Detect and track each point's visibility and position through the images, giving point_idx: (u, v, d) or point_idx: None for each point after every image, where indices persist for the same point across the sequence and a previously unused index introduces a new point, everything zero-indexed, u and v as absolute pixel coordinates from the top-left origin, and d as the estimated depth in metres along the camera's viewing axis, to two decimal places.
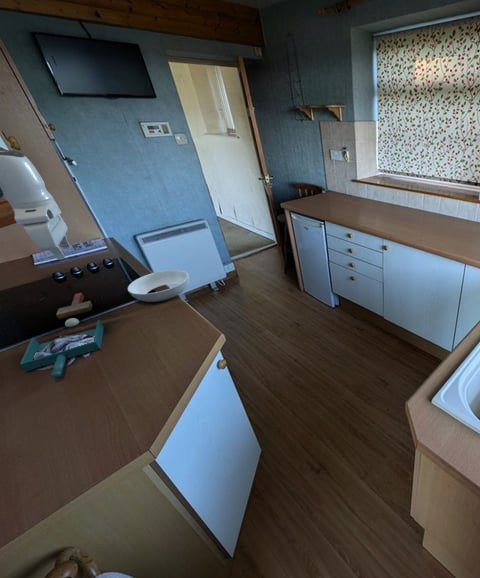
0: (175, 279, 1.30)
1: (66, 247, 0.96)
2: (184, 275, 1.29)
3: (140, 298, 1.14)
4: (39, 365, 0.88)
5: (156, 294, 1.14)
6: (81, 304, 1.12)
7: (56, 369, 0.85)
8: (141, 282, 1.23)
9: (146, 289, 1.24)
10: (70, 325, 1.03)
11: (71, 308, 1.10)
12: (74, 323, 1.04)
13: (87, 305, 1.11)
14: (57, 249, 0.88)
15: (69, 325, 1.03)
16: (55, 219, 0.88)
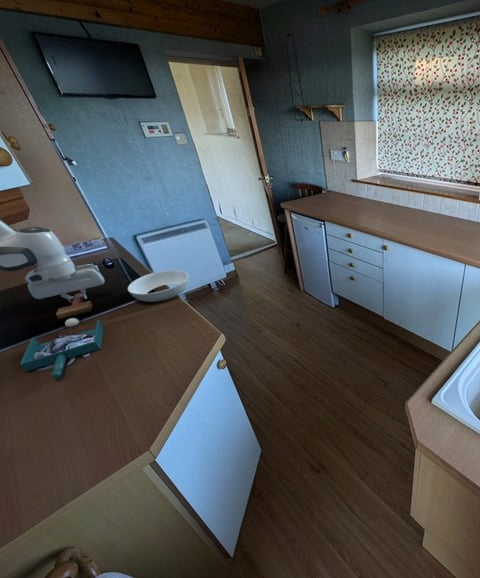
0: (175, 279, 1.30)
1: None
2: (184, 275, 1.29)
3: (140, 298, 1.14)
4: (39, 365, 0.88)
5: (156, 294, 1.14)
6: (81, 304, 1.12)
7: (56, 369, 0.85)
8: (141, 282, 1.23)
9: (146, 289, 1.24)
10: (70, 325, 1.03)
11: (71, 308, 1.10)
12: (74, 323, 1.04)
13: (87, 305, 1.11)
14: None
15: (69, 325, 1.03)
16: (56, 280, 1.09)
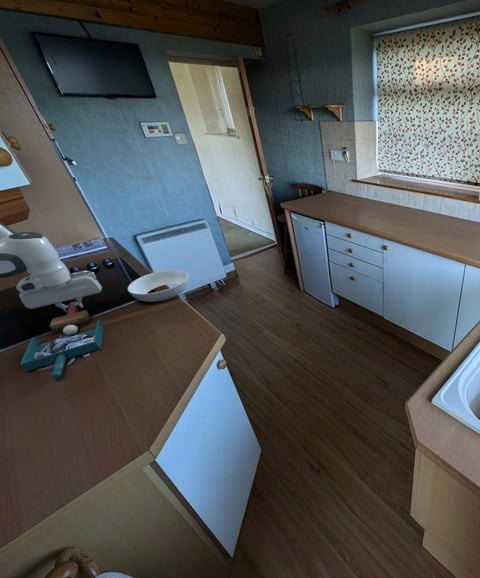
0: (175, 279, 1.30)
1: None
2: (184, 275, 1.29)
3: (140, 298, 1.14)
4: (39, 365, 0.88)
5: (156, 294, 1.14)
6: (77, 314, 1.05)
7: (56, 369, 0.85)
8: (141, 282, 1.23)
9: (146, 289, 1.24)
10: None
11: (66, 318, 1.03)
12: None
13: (83, 315, 1.05)
14: None
15: None
16: (50, 288, 1.02)
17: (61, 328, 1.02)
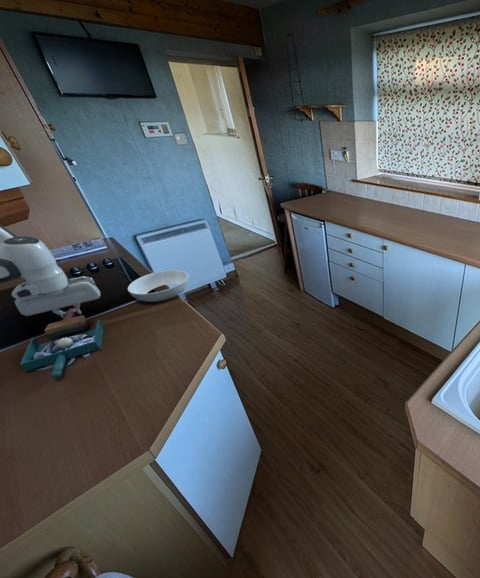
0: (175, 279, 1.30)
1: None
2: (184, 275, 1.29)
3: (140, 298, 1.14)
4: (39, 365, 0.88)
5: (156, 294, 1.14)
6: (73, 318, 1.01)
7: (56, 369, 0.85)
8: (141, 282, 1.23)
9: (146, 289, 1.24)
10: None
11: (62, 323, 0.99)
12: (70, 346, 0.96)
13: (79, 319, 1.01)
14: None
15: (64, 348, 0.95)
16: (47, 295, 0.98)
17: (56, 333, 0.97)
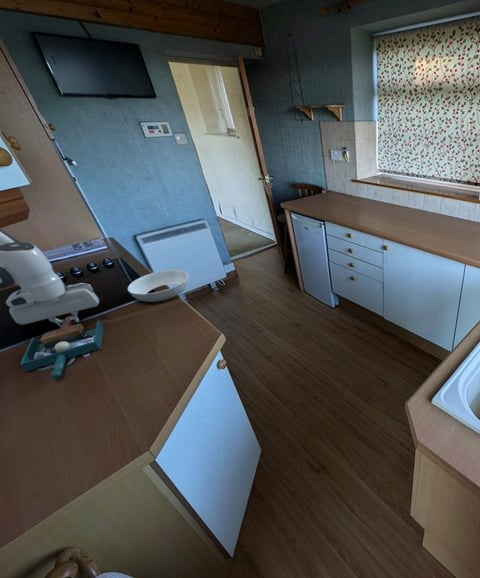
0: (175, 279, 1.30)
1: None
2: (184, 275, 1.29)
3: (140, 298, 1.14)
4: (39, 365, 0.88)
5: (156, 294, 1.14)
6: (70, 327, 0.97)
7: (56, 369, 0.85)
8: (141, 282, 1.23)
9: (146, 289, 1.24)
10: None
11: (58, 332, 0.95)
12: None
13: (77, 328, 0.97)
14: None
15: None
16: (43, 303, 0.94)
17: (52, 343, 0.93)
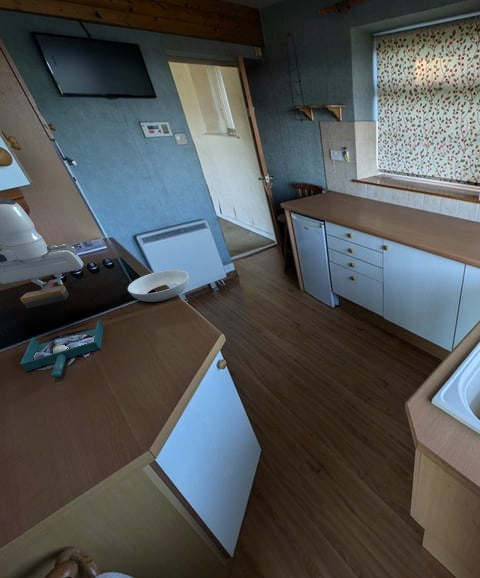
0: (175, 279, 1.30)
1: None
2: (184, 275, 1.29)
3: (140, 298, 1.14)
4: (39, 365, 0.88)
5: (156, 294, 1.14)
6: (52, 288, 0.96)
7: (56, 369, 0.85)
8: (141, 282, 1.23)
9: (146, 289, 1.24)
10: None
11: (40, 292, 0.93)
12: None
13: (59, 289, 0.95)
14: None
15: None
16: (24, 262, 0.93)
17: (33, 302, 0.92)
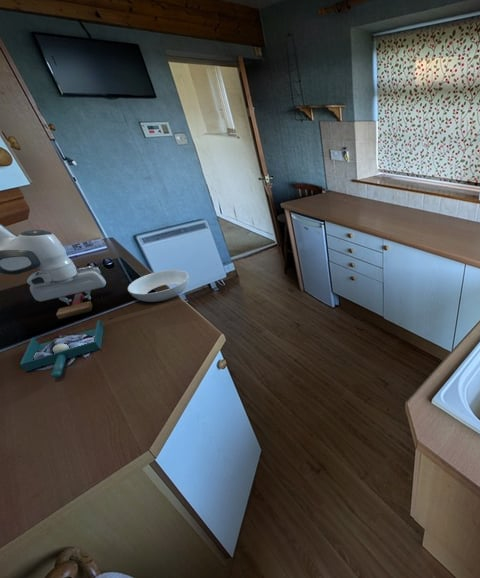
0: (175, 279, 1.30)
1: None
2: (184, 275, 1.29)
3: (140, 298, 1.14)
4: (39, 365, 0.88)
5: (156, 294, 1.14)
6: (81, 304, 1.12)
7: (56, 369, 0.85)
8: (141, 282, 1.23)
9: (146, 289, 1.24)
10: None
11: (71, 308, 1.10)
12: None
13: (87, 305, 1.11)
14: None
15: None
16: (58, 282, 1.09)
17: None
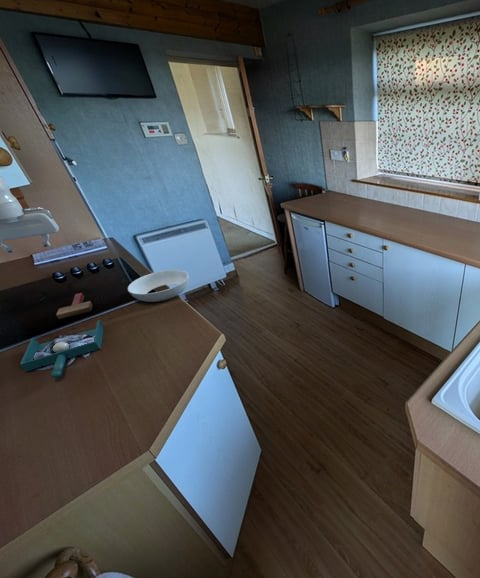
0: (175, 279, 1.30)
1: None
2: (184, 275, 1.29)
3: (140, 298, 1.14)
4: (39, 365, 0.88)
5: (156, 294, 1.14)
6: (81, 304, 1.12)
7: (56, 369, 0.85)
8: (141, 282, 1.23)
9: (146, 289, 1.24)
10: None
11: (71, 308, 1.10)
12: None
13: (87, 305, 1.11)
14: None
15: None
16: (0, 222, 0.98)
17: None
